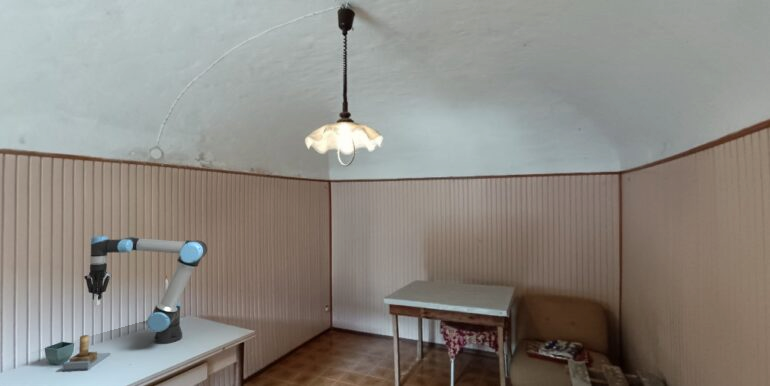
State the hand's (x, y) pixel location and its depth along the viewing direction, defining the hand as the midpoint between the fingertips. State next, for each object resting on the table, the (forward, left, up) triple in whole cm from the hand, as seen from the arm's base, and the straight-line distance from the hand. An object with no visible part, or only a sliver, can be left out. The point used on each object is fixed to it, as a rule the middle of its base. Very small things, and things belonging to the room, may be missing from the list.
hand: (96, 305), depth 204 cm
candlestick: (-18, -45, -27) cm, 55 cm away
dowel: (-5, +18, -24) cm, 31 cm away
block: (-5, +18, -25) cm, 31 cm away
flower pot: (+10, +12, -27) cm, 31 cm away
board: (-5, +14, -26) cm, 31 cm away
